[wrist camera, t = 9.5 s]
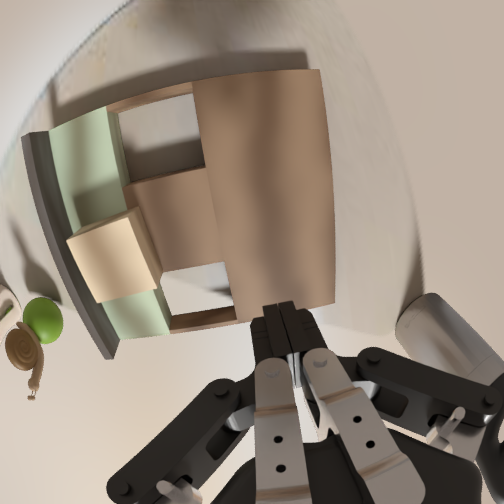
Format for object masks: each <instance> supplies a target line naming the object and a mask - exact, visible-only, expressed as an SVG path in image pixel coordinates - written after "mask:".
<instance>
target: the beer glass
mask: <svg viewBox="0 0 504 504" xmlns="http://www.w3.org/2000/svg"><path fill="white" fill-rule="evenodd" d="M21 315H22V312H21V307H20V305H19V302H18V300H17V299H16V297H15V296H14V294H13V293H12V292H11V291H10V290H9V289H8V288H7V287H5V286H3V285H1V284H0V346H1V343H2V341H3V339H4V336H5V335H6V333H7V332H8V331H9V329H10V328H11V327H12V326H14V325H15V324H16V322H18V321H19V320H20V319H21Z"/></svg>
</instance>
